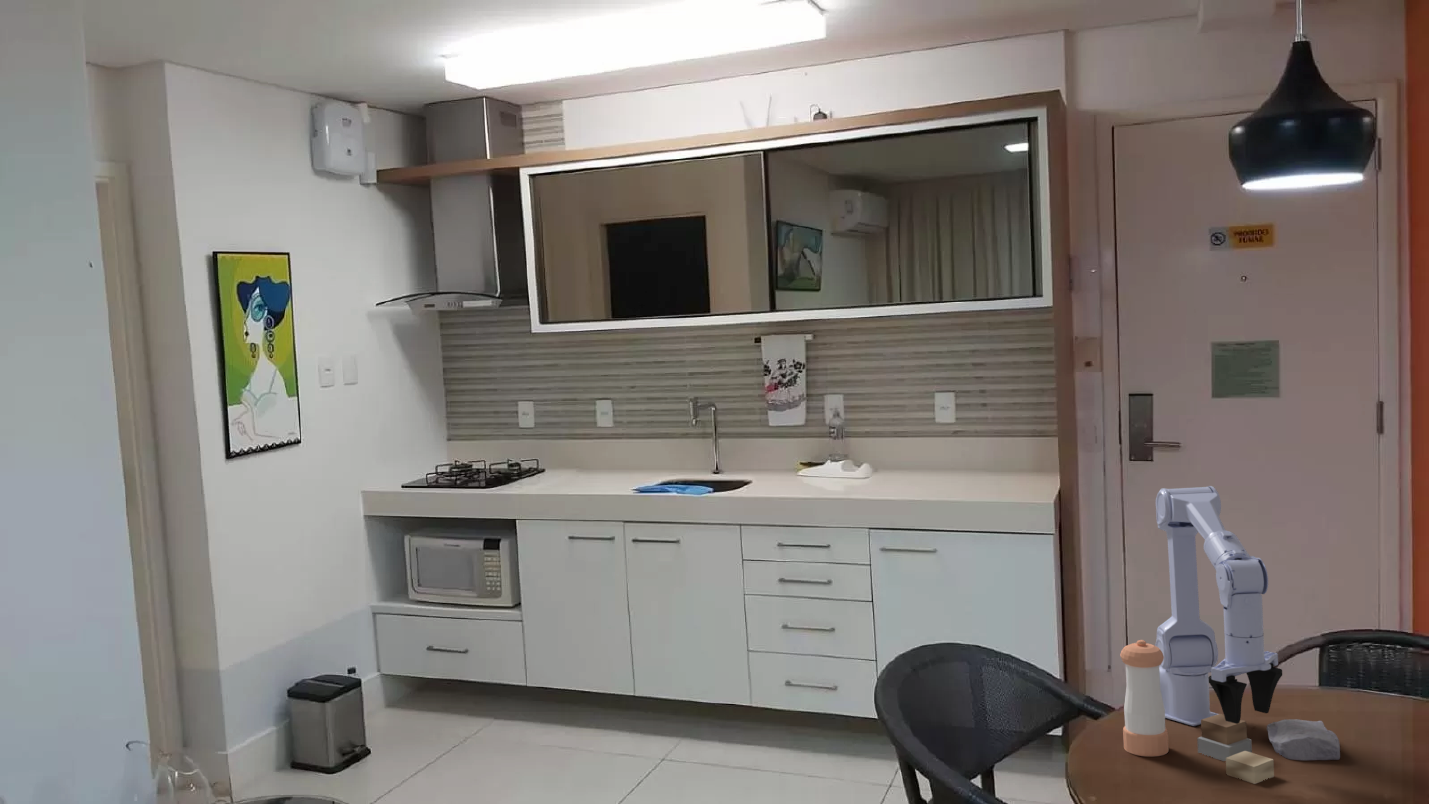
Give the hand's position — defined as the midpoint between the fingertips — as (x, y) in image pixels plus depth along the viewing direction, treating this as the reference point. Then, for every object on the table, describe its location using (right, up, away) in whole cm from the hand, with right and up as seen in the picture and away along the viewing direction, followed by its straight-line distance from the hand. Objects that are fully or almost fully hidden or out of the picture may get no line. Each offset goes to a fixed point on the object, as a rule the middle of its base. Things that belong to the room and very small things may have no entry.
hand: (1247, 716), depth 180 cm
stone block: (+14, -9, +10) cm, 19 cm away
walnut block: (+1, -6, +10) cm, 12 cm away
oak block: (0, -10, 0) cm, 10 cm away
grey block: (+1, -9, +10) cm, 13 cm away
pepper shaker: (-11, -10, +14) cm, 20 cm away
